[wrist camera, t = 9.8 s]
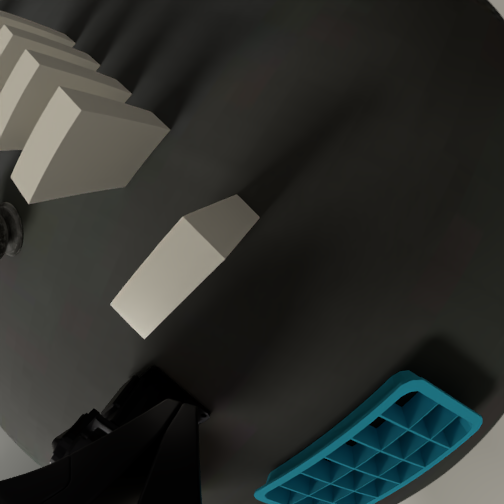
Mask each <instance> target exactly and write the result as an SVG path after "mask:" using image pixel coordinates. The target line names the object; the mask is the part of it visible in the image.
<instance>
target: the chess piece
mask: <svg viewBox="0 0 504 504" xmlns="http://www.w3.org/2000/svg"><path fill="white" fill-rule="evenodd" d="M22 243H23V228H22V223H21V219H20V216H19V214H18V212H17V210H16V208H15V207H14V206H13V205H12V204H11V203H9V202H3V203H1V204H0V259H1V258H2V257H3V255H4V254H7V255H9V256H15V255H17V254H18V253H19V251H20V250H21V247H22Z"/></svg>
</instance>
